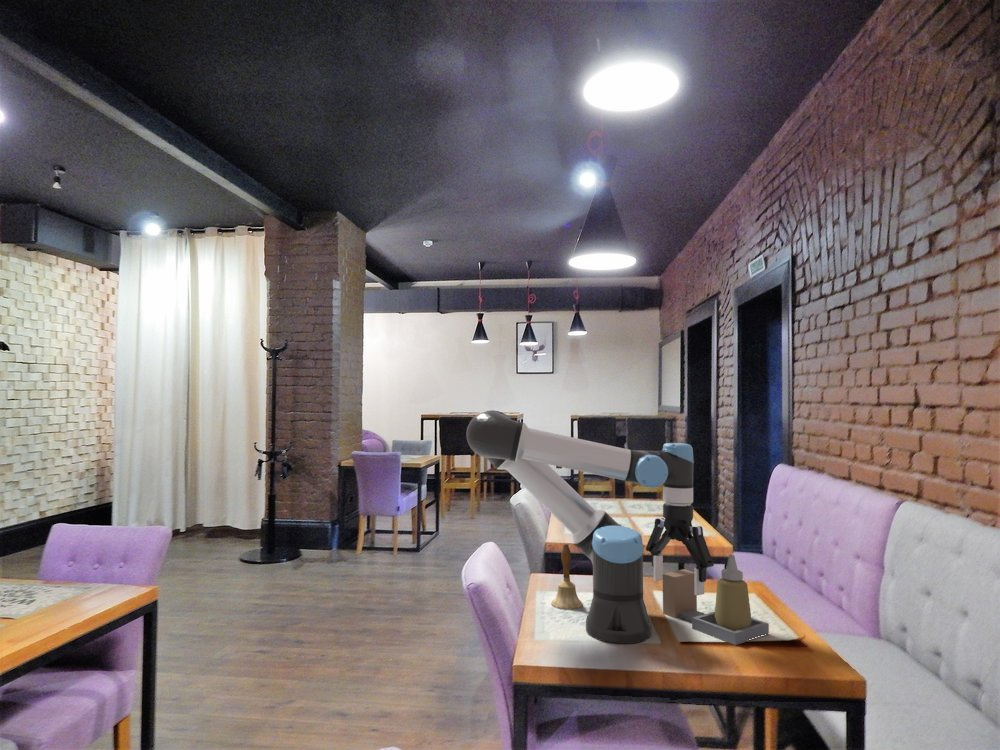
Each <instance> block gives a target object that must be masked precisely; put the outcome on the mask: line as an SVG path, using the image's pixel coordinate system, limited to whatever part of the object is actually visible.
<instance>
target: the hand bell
mask: <svg viewBox="0 0 1000 750" xmlns="http://www.w3.org/2000/svg"><path fill="white" fill-rule="evenodd" d="M560 558H561V564H562V568H563V576H562V577H563V581H561V582H559V583H558V585H557V593H556V596H555V597H554V599H552V601H551V606H552V607H554V608H556V609H558V610H559V609H560V610H567V609H568V610H569V609H570V610H577V609H580V608H582V606H583V605H584V604H583V602H582V600H580V598H579V597H578V594H577V590H576V584H575V583H574V582H572V581H571V576H570V575H571V574H570V565H571V562H572V561H571V560H572V559H571V558H572V553H571V550H570V547H569V544H568V543H563V545H562V550H561V555H560Z"/></svg>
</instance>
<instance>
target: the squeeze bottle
mask: <svg viewBox="0 0 1000 750" xmlns="http://www.w3.org/2000/svg"><path fill="white" fill-rule="evenodd" d="M743 579H744V573H743V571H742V570H739V569H738V565H737V561H736V556H735V554H728V557H727V564H726V568H724V569H722V570H721V578H719V579H718V580H717V583H716V594H715V604H714V605H715V608H714V612H715V618H716V621H717V624H716V625H718V626H721V627H724V628H726V629H729V630H732V631H737V630H740V629H744V628H747V627H750V624H751V621H752V619H751V618H752V613H751V604H750V597H749V589H748V588H749V587H748V583H747V582H746V581H745V580H743Z"/></svg>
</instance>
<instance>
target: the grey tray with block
mask: <svg viewBox="0 0 1000 750" xmlns="http://www.w3.org/2000/svg"><path fill="white" fill-rule="evenodd" d="M697 596H698V595H694V571H691V570H689V569H685V568H682V569H679V570H674V571H669V572H665V573H664V572H663V580H662V615H666V616H669V617H671V618H674V619H677V618H680V619H683V620H687V621H689V622H691V629H693V630H695V631H698V632H701V633H703V634H706V635H708V636H710V635H711V637H713V636H714V637H713V638H716V639H718V638H719V640H721V639H722V640H721V641H723V640H724V641H723V642H727V643H728V644H731V645H734V646H737V645H741V644H743V643H746V642H745V641H747V640H749V639H752V638H755V637H758V636H761V635H765V634H768V633H770V630H769V629H770V627H769V622H766V621H762V620H759V619H756V618H754V617H751V619H752V621H751V624H750V627H747V628H744V629H740V630H737V631H732V630H729V629H726V628H724V627H721V626H718V624H717V621H716V618H715V611H712V612H707V613H704V612H701V611H698V601H697V600H698V598H697ZM747 642H748V641H747Z"/></svg>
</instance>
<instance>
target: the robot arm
mask: <svg viewBox="0 0 1000 750" xmlns="http://www.w3.org/2000/svg"><path fill="white" fill-rule="evenodd" d="M466 440H467V443H468V446H469V447H470V449H471V450H472V451H473V452H474V453H475V454H476V455H478V456H480V457H482V458H485V459H486V460H487V461H488V462H489V463H490V464H492V465H493V466H494V467H495V468H496V470H505V471H507V472H508V473H509V474H510V475H511V476H512V477H513V478H514V479H515V480H516V481H517V482H519V484H521V485H522V486H523V487H524V488H525V490H527V491H528V492H529V493H530V494H531V495H532V496H533V497H534V498H535V499H536V500H537V501H538V502H539V503H540V504H541V505H542V507H544V508H545V509H546V510H547V511H548V512H549V513H551V515H553V517H555V518H556V519H557V521H558V522H560V523H561V524H562V526H564V527H565V528H566V530H568V532H570V533H571V534H572V543H573V544H574V545H575V547H577V548H578V549H579V550H580V551H581V552H582V553H583V554H584V555H585V556H586V557H587V558H588V559H589V560H590V562H591V564H592V599H591V603H590V607H589V610H588V615H587V616H586V618H585V631H586V633H587V634H588V635H589V636H591V637H593V638H595V639H597V640H600V641H603V642H608V643H616V644H635V643H640V642H644V641H646V640H648V639H649V638H650V637H651V636H652V622H651V620H650V618H649V614H648V611H647V607H646V604H645V600H644V543H643V538H642V535H641V533H640V532H639V531H637V530H636V529H634V528H630V527H628V526H625V525H623V526H622V525H621V524H620V523H618V522H617V521H616V520H615V519H614V518H613V517H612V516H611V515H610V514H609V513H608V512H607V511H605V510H604V509H595V508H594V507H593V506H592V505H591V504H590V503H589V502H587V500H585V499H584V497H582V496H581V495H580V494H579V493H578V491H576V490H575V489H574V488H573V487H572V486H571V485H570V484H569V483H568V482H567V481H566V480H565V479H563V477H561V476H560V474H558V473H557V472H556V471H555V470H554V469H553V468H552V467H551V466H555V467H560V468H565V469H569V470H573V471H578V472H584V473H588V474H592V475H597V476H602V477H605V478H606V477H607V478H612V479H616V480H621V481H624V482H625V481H626V482H628V483H632V484H637V485H638V484H639V485H641V486H643V487H644V488H651V489H652V488H653V489H655V488H658V487H660V486H662V501H663V502H664V503H663V504H662V517H659V518H655V520H654V527H653V530H652V531H651V534H650V537H649V539H648V542H647V544H646V545H645V551H646V552H650V554H651V566H652V568H653V571H652V573H653V575H652V576H653V577H652V578H653V582H659V581H663V573H664V564H663V563H664V562H663V561H664V558H663V557H664V556H663V553H662V552H663V551H664V549H665V548H666V546H667V545H668V544H669V542H670V541H671V540H673V541H674V540H675V541H676V542H681V543H682V544H683V545H684V546H685V547H686V549H687V551H688V553H689V555H690V556H691V558H692V560H693V562H694V563H695V565H696V567H694V568H693V569H694V571H693V572H694V595H697V596H701V595H705V582H707V569H708V568H712V567H714V565H715V564H714V563H715V562H714V561H713V559H712V558H713V557H712V555H711V553H710V550H709V547H708V545H707V541H706V539H705V535H704V529H703V526H702V525H699V526H693V524H692V521H693V520H694V506H693V503H694V463H695V460H694V450H693V447H692V445H691V444H688V443H683V442H682V443H680V442H666V443H664V444H663V446H662V450H640V449H637V450H636V449H628V448H625V447H624V448H623V447H618V446H613V445H609V444H606V443H600V442H596V441H591V440H586V439H582V438H577V437H572V436H568V435H563V434H559V433H558V434H557V433H553V432H549V431H544V430H539V429H535V428H531V427H528V426H527V424H526V423H525V422H522V421H517V420H515V419H514V420H513V419H511V417H509V416H508V415H507V414H506V413H504V412H501V411H499V410H491V409H490V410H486V411H483V412H479V414H478V413H477V414H476V415H475V416H474V417H472V419H471V420H470V421H469V424H468V425H467V427H466ZM664 529H665V530H664Z"/></svg>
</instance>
